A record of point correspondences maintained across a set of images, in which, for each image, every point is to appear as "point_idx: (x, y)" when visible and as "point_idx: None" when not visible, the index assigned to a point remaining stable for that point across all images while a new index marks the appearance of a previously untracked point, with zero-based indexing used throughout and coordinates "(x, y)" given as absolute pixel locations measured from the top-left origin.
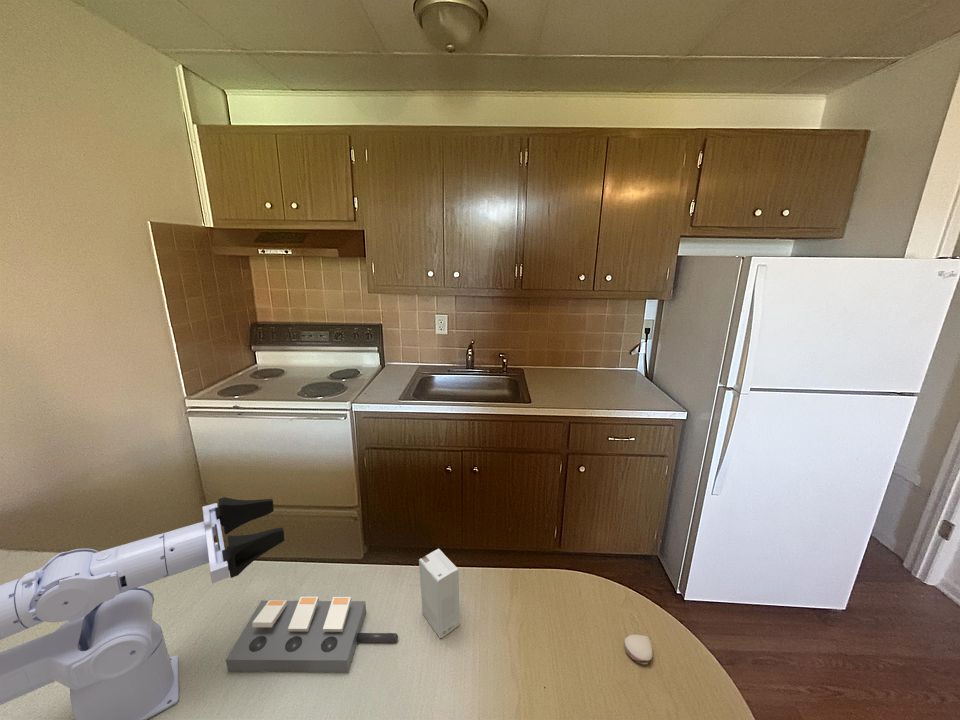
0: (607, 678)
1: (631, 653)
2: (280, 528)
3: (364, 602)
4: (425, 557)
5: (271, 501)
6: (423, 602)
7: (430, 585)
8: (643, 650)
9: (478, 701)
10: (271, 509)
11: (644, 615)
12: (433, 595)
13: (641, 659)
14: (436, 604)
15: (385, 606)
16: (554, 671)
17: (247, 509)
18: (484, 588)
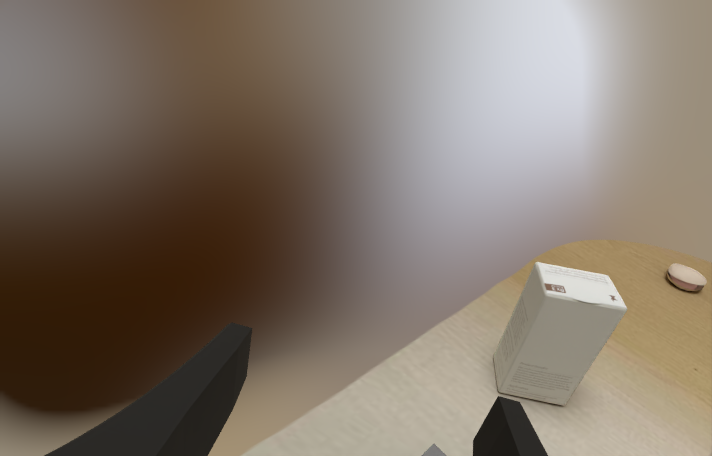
0: (703, 321)
1: (686, 285)
2: (508, 405)
3: (436, 446)
4: (550, 285)
5: (249, 333)
6: (519, 371)
7: (583, 328)
8: (700, 275)
9: (694, 442)
10: (244, 373)
11: (637, 248)
12: (586, 342)
13: (704, 284)
14: (589, 354)
15: (438, 426)
16: (676, 347)
17: (180, 452)
18: (507, 306)
